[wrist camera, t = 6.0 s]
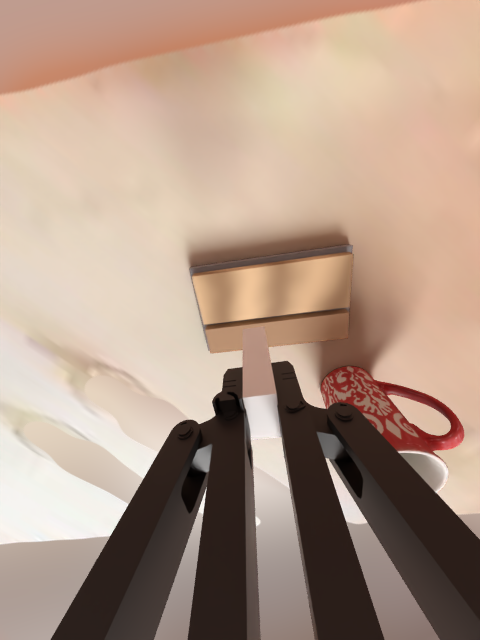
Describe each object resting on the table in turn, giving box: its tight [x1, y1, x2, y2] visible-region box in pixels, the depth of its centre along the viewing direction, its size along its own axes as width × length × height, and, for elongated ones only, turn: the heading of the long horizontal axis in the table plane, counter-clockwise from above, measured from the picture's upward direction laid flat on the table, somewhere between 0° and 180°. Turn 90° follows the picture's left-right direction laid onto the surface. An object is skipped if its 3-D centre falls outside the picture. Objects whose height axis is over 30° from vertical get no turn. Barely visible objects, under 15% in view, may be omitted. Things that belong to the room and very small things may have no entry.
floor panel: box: [189, 244, 353, 353], centre depth 29 cm, size 18×11×2 cm, turn 98°
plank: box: [192, 252, 353, 325], centre depth 27 cm, size 17×6×1 cm, turn 98°
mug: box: [321, 366, 464, 493], centre depth 28 cm, size 13×9×14 cm
